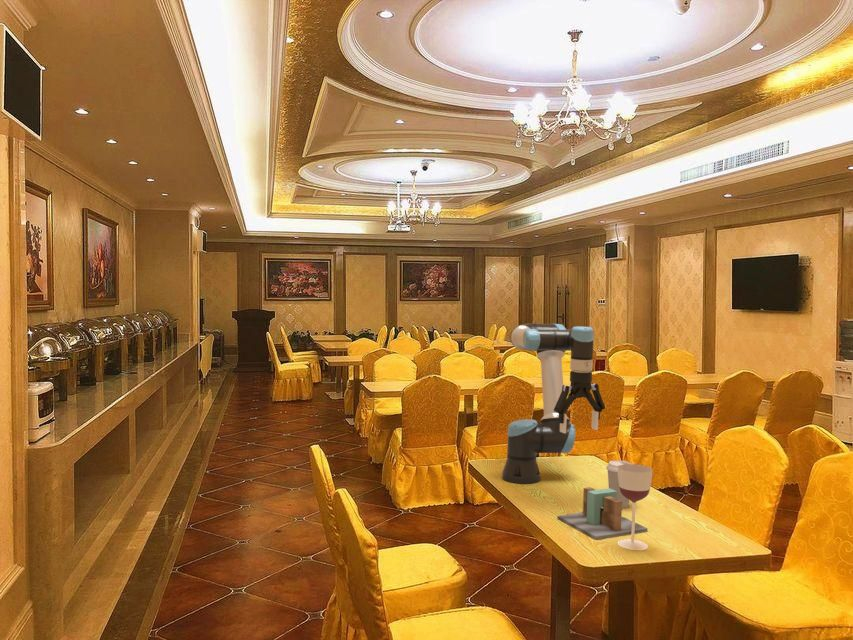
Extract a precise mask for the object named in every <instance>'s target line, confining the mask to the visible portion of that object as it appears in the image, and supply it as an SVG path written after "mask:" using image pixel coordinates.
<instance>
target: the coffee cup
mask: <svg viewBox="0 0 853 640" xmlns="http://www.w3.org/2000/svg"><path fill="white" fill-rule="evenodd" d="M624 464H632V463H631V462H628V461H626V460H610V461H609V462H608V464H607V465H606V468H605V469H606V470H607V483H608V489H609V488H610V489H613V490H615V491H617V499H618V500H620V501H622V509H627V508H629V507H630V500H629V499H627V498H625V497H624V496H623V495H622V494H621V492H620V488H619V483H618V466H619V465H624Z"/></svg>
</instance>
